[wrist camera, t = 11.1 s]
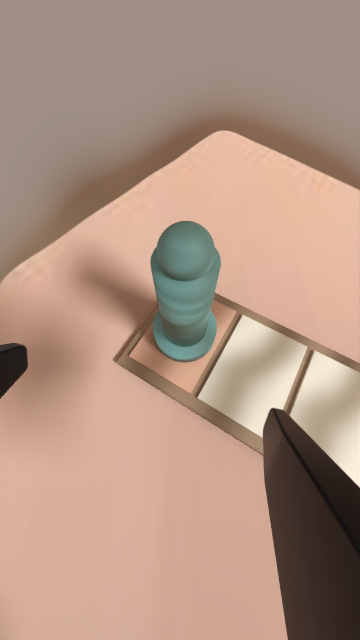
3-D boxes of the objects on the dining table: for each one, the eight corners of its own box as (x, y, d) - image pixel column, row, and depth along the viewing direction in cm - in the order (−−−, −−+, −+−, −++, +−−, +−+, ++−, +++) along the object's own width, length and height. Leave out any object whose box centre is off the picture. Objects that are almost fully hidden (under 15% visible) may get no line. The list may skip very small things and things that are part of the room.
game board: (393, 383, 21) (401, 381, 20) (362, 517, 17) (371, 522, 17) (179, 278, 26) (179, 273, 25) (118, 363, 22) (115, 361, 22)
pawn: (182, 375, 21) (180, 306, 9) (142, 330, 23) (100, 226, 11) (227, 335, 22) (273, 233, 11) (186, 296, 24) (190, 174, 13)
